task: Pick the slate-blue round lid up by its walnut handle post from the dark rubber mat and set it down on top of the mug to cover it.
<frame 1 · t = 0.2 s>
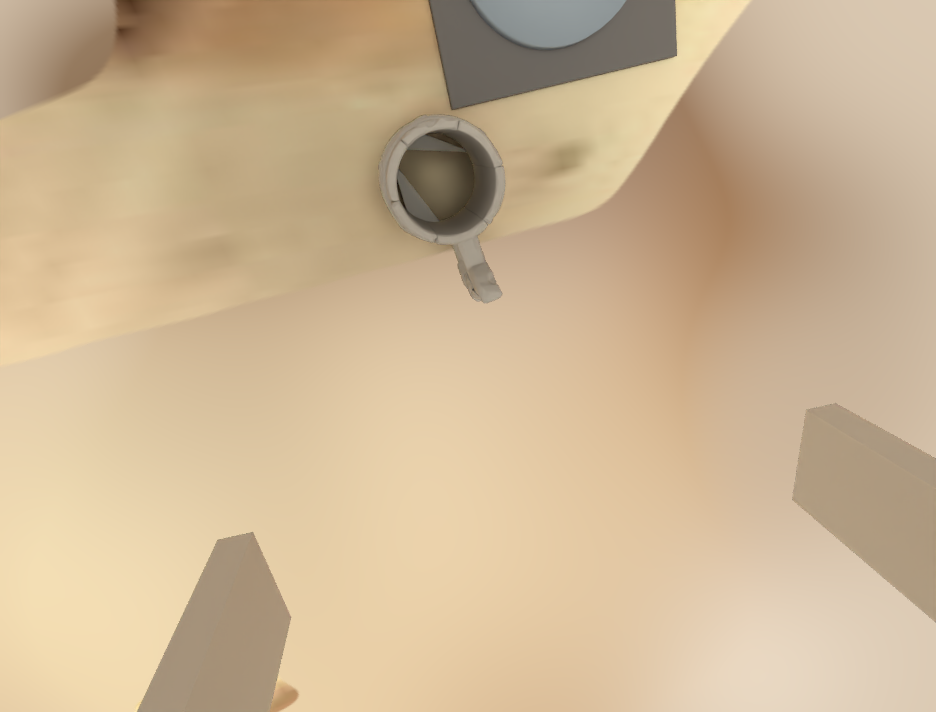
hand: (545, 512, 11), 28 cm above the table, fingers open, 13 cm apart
mug: (443, 205, 35), on the table
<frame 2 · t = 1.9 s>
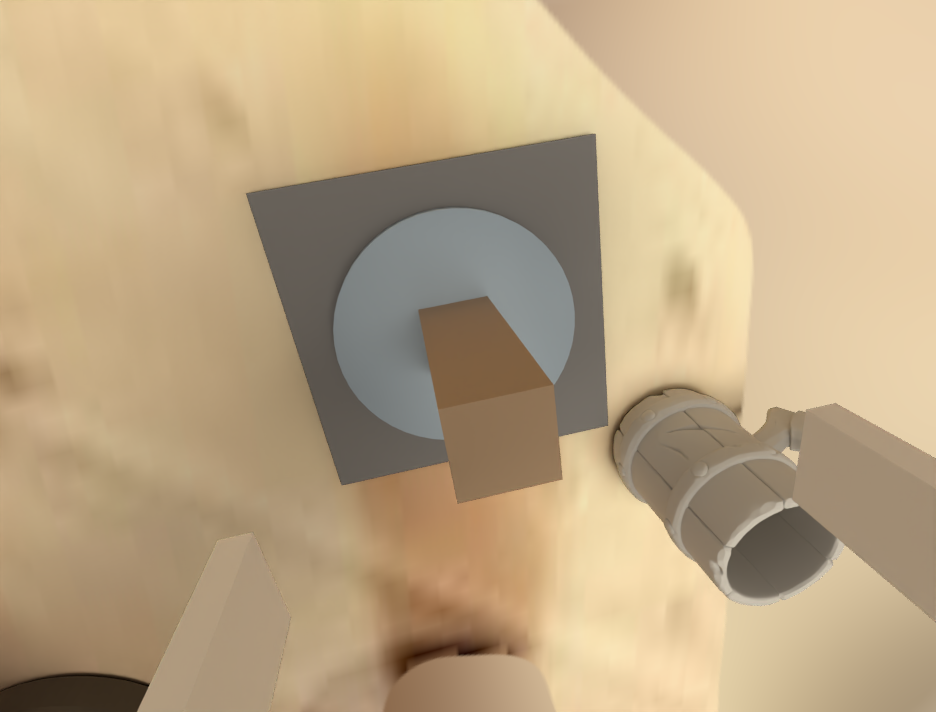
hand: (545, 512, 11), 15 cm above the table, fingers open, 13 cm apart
lid: (455, 327, 24), point 1 cm above the table, touching mat
mug: (692, 425, 30), on the table
mat: (454, 324, 25), on the table
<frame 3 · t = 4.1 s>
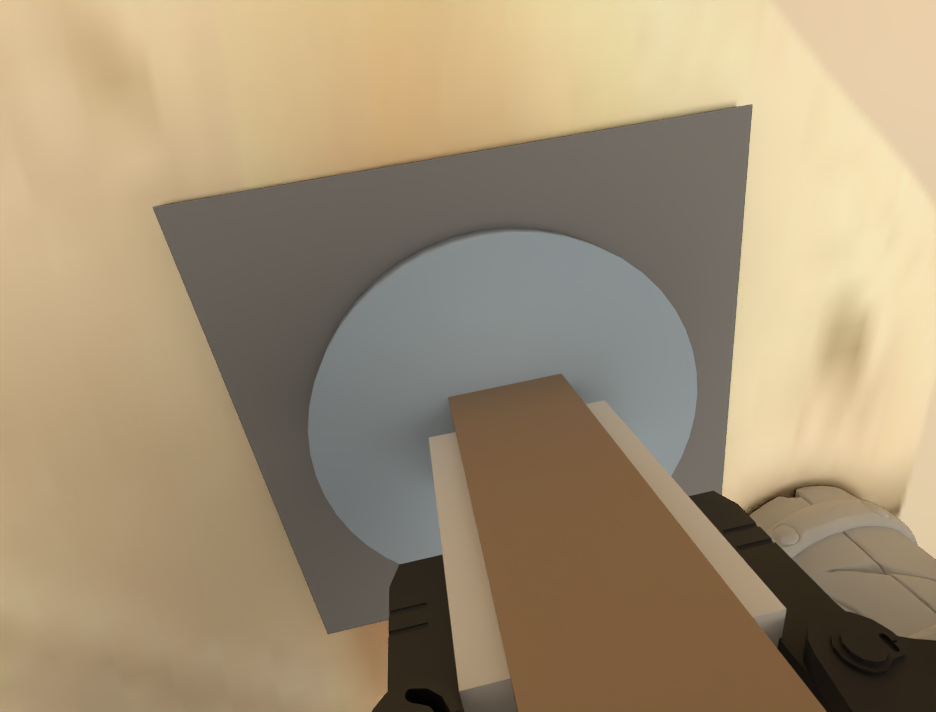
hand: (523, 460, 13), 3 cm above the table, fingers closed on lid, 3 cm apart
lid: (503, 414, 15), point 1 cm above the table, touching gripper, mat
mug: (828, 530, 21), on the table
mat: (500, 405, 16), on the table
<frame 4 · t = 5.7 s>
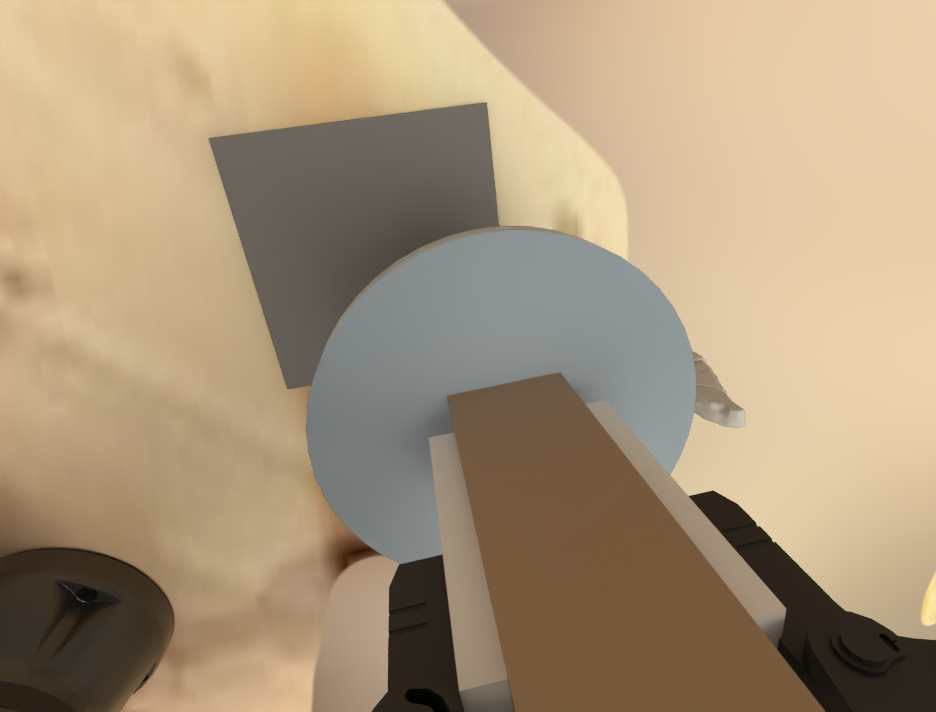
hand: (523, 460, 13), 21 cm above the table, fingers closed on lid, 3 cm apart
lid: (502, 413, 15), point 18 cm above the table, touching gripper
mug: (586, 356, 36), on the table
mat: (379, 255, 31), on the table
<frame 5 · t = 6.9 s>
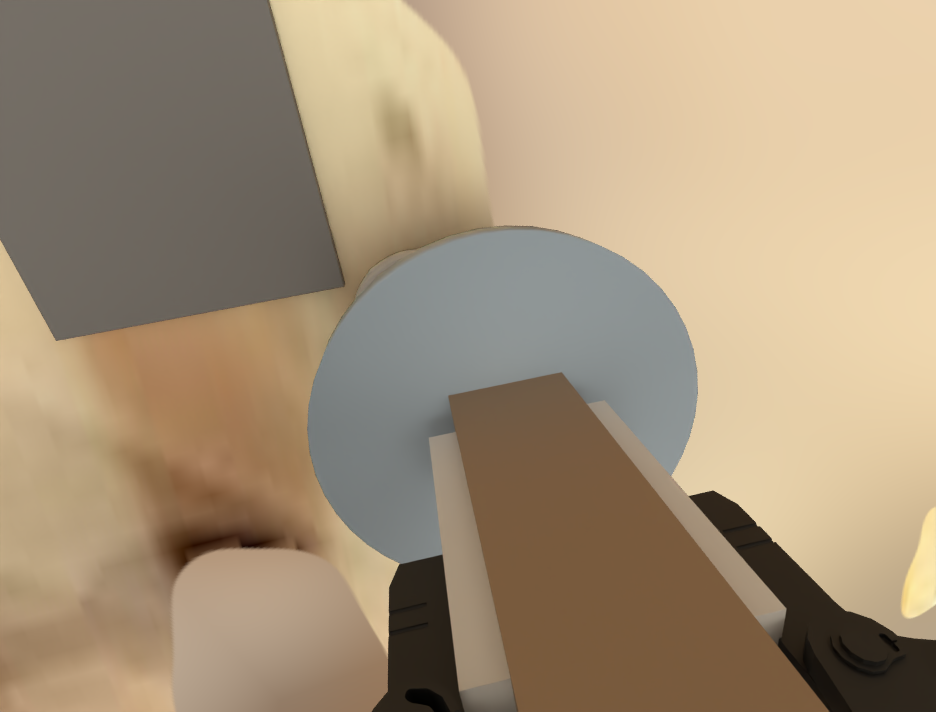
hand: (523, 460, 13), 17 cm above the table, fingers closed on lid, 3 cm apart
lid: (503, 413, 15), point 15 cm above the table, touching gripper
mug: (449, 296, 29), on the table
mat: (148, 162, 24), on the table
when the fingers open (16 cm above the table, at t = 7.7 s): lid drops 2 cm, resting on mug.
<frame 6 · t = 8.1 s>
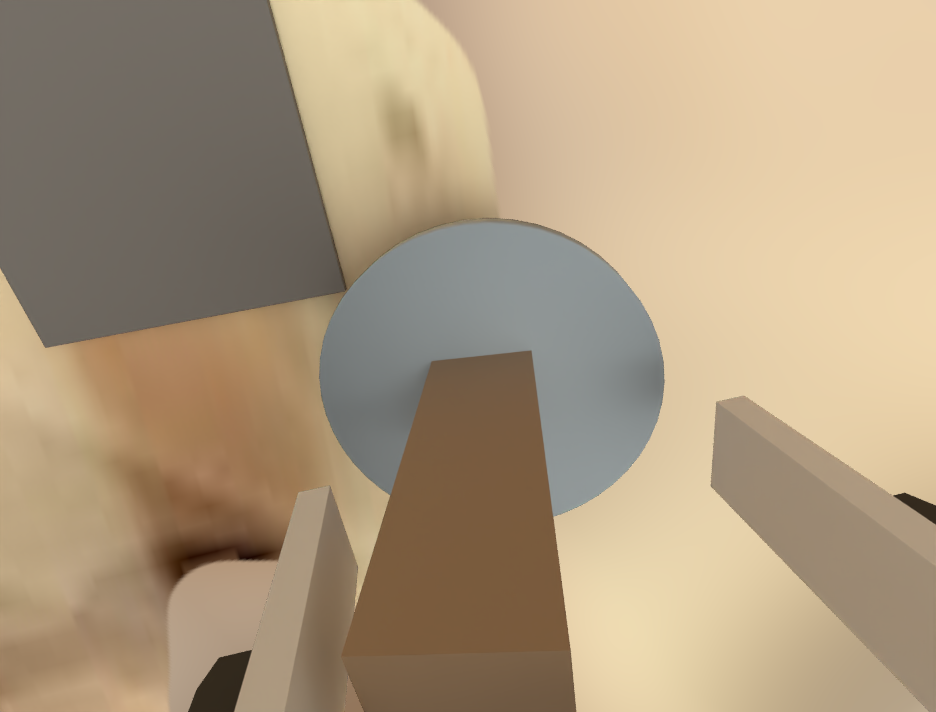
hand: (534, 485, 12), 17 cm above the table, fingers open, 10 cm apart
lid: (488, 382, 18), point 11 cm above the table, tilted 12°, touching mug
mat: (140, 161, 23), on the table
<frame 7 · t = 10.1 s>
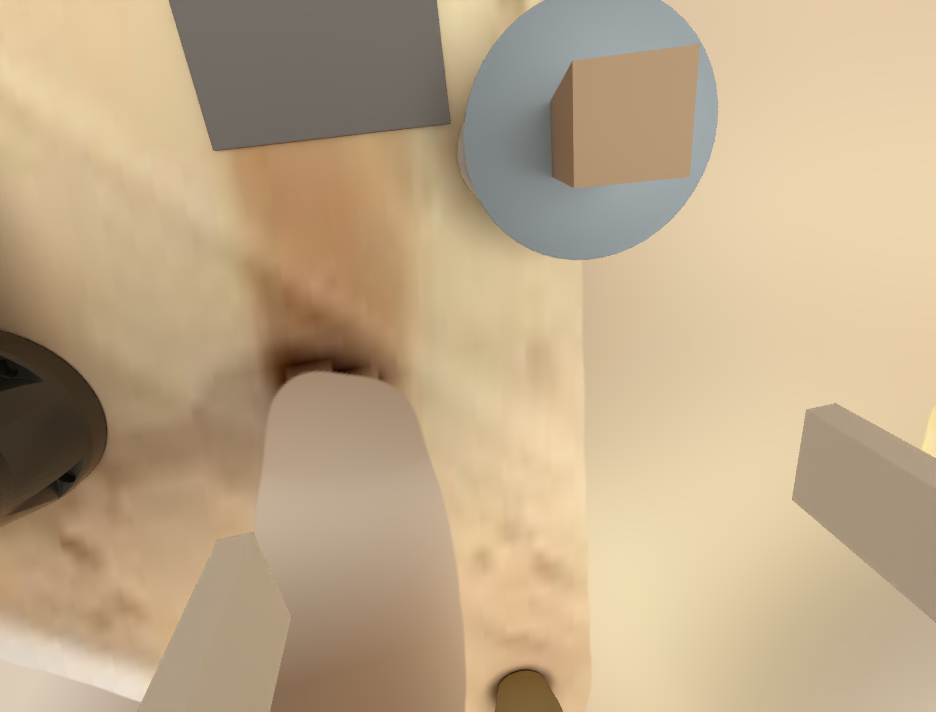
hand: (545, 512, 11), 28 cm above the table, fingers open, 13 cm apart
lid: (583, 137, 24), point 11 cm above the table, tilted 12°, touching mug
mug: (533, 144, 34), on the table, touching lid
squeeze bottle: (520, 683, 57), on the table
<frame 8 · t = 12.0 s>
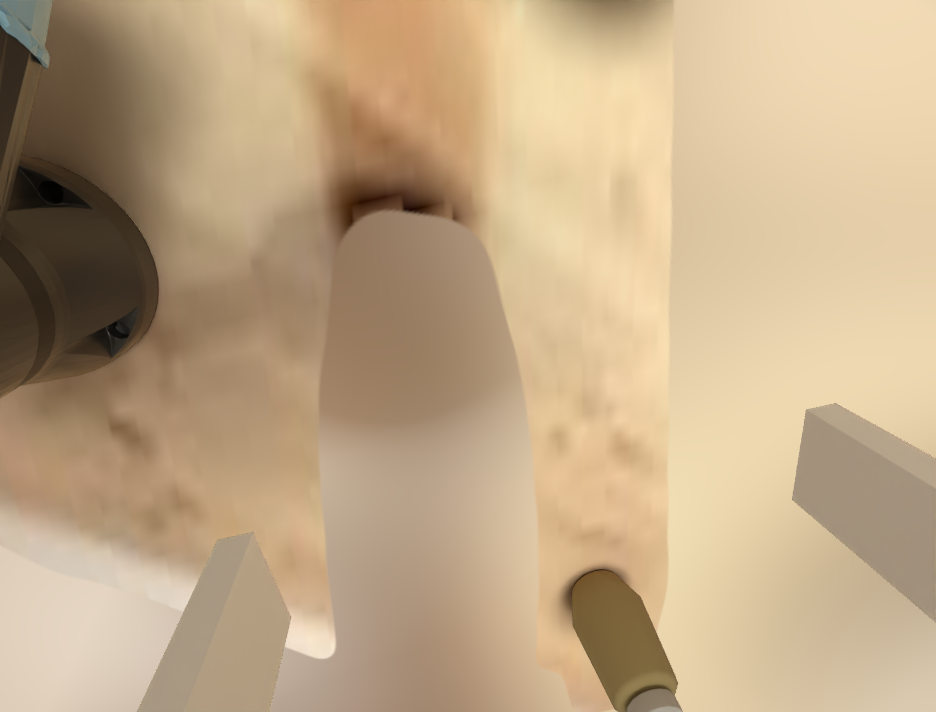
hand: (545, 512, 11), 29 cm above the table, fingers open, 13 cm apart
squeeze bottle: (594, 586, 54), on the table
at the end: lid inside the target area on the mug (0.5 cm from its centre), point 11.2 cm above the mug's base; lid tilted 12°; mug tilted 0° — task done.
